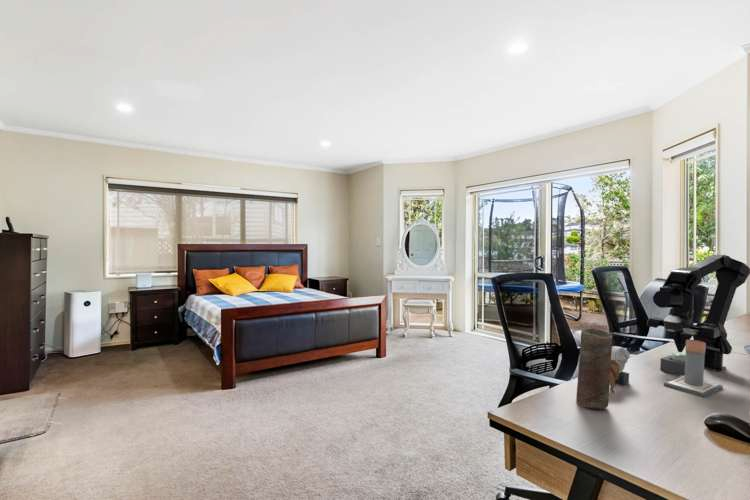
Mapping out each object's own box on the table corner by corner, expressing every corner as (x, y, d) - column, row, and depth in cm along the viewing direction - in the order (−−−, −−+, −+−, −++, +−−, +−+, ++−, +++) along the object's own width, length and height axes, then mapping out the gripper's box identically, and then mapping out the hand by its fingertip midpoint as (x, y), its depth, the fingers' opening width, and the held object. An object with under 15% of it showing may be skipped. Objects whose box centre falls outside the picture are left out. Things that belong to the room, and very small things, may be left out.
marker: (686, 379, 119) (688, 338, 118) (705, 384, 115) (707, 342, 115) (681, 382, 116) (684, 340, 115) (701, 387, 112) (703, 344, 112)
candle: (605, 402, 102) (608, 329, 102) (612, 414, 95) (616, 336, 95) (573, 398, 105) (576, 326, 104) (578, 409, 98) (582, 332, 97)
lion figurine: (605, 384, 116) (607, 355, 115) (623, 391, 111) (625, 360, 111) (574, 392, 109) (575, 361, 109) (592, 399, 104) (593, 367, 104)
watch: (631, 381, 118) (632, 347, 118) (620, 387, 114) (622, 351, 113) (611, 376, 123) (612, 342, 123) (600, 381, 118) (602, 346, 118)
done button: (674, 360, 132) (674, 352, 132) (690, 364, 128) (690, 355, 128) (669, 362, 130) (669, 353, 130) (684, 366, 126) (685, 357, 126)
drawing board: (682, 377, 123) (682, 374, 123) (722, 388, 115) (722, 384, 115) (663, 385, 116) (663, 381, 116) (705, 397, 107) (705, 393, 107)
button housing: (670, 366, 135) (670, 355, 134) (698, 373, 128) (698, 361, 128) (660, 369, 130) (660, 358, 130) (688, 377, 124) (689, 365, 123)
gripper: (640, 304, 132) (638, 348, 133) (708, 313, 116) (705, 363, 117) (654, 301, 138) (652, 344, 138) (721, 310, 122) (718, 358, 123)
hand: (680, 352), depth 129 cm, fingers closed
